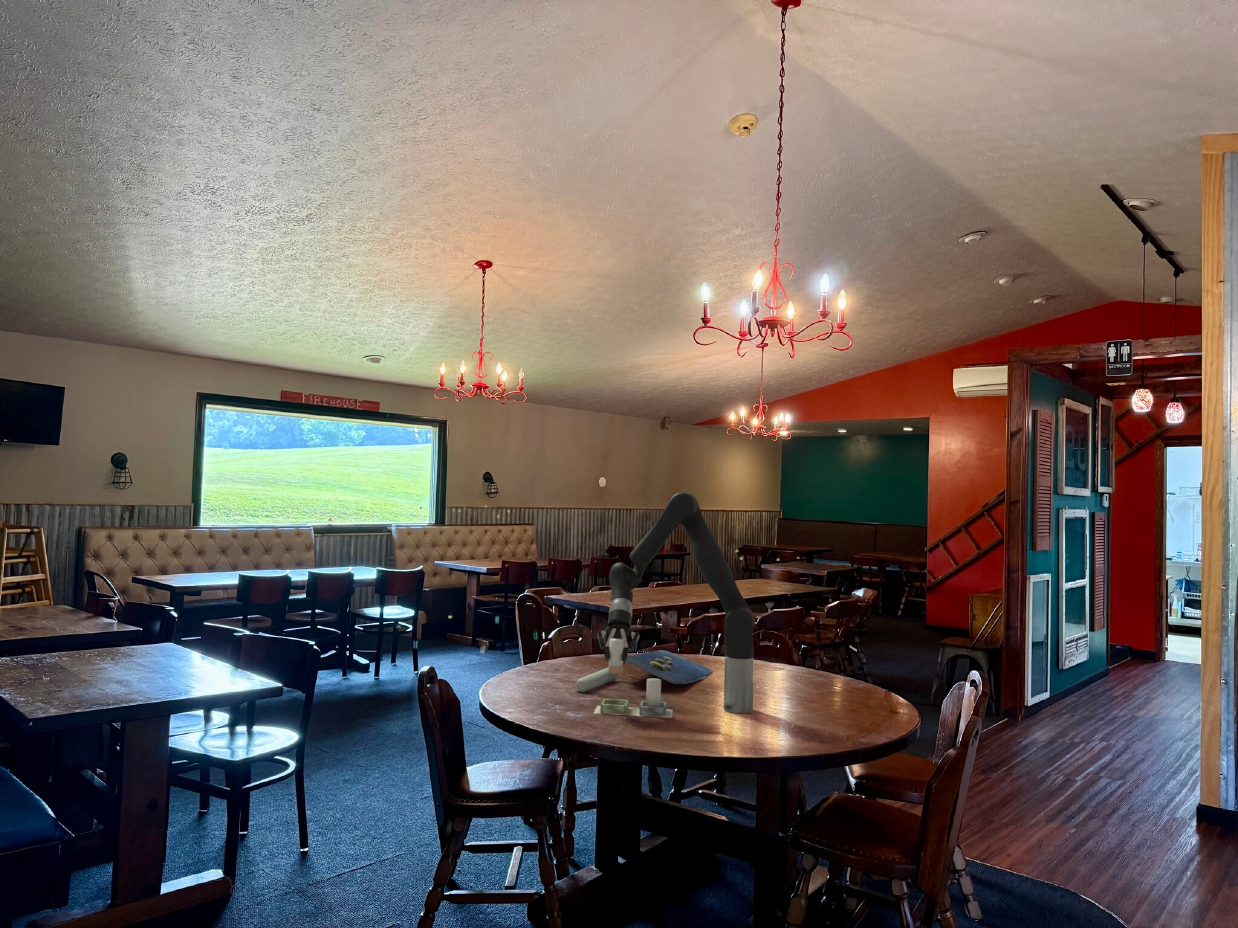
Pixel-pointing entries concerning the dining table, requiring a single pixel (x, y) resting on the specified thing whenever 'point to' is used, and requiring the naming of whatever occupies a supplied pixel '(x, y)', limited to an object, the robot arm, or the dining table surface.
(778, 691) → the dining table surface
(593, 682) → the tube
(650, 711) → the board
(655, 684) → the seated sleeve
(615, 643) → the white peg
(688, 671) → the serving platter
